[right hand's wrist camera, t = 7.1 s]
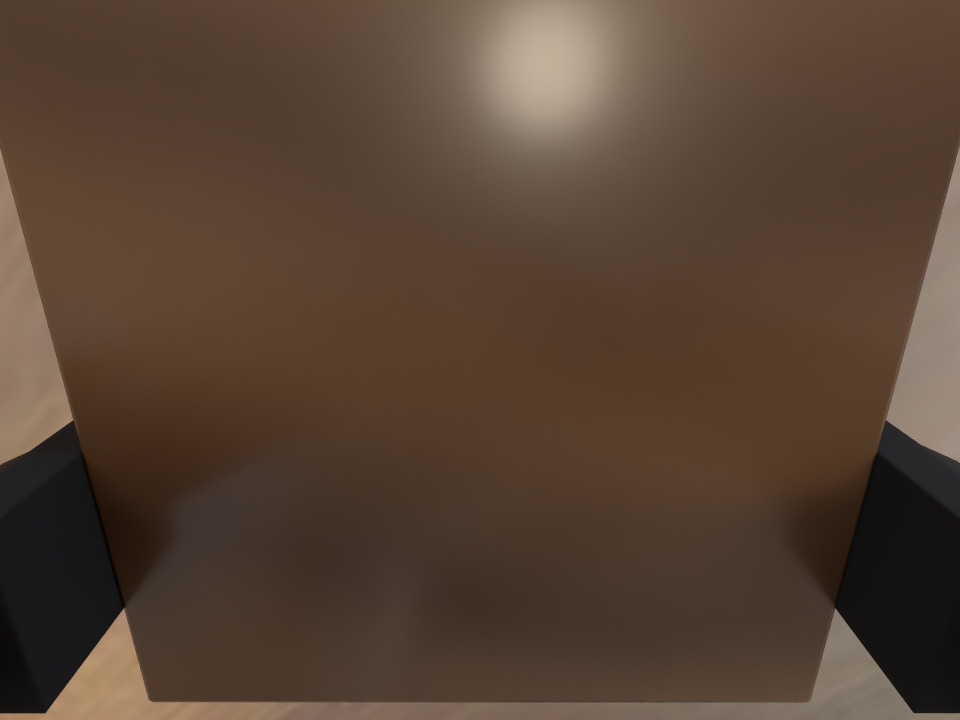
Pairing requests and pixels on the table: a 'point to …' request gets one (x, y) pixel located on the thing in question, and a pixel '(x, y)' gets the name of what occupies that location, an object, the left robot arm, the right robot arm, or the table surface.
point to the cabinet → (479, 327)
